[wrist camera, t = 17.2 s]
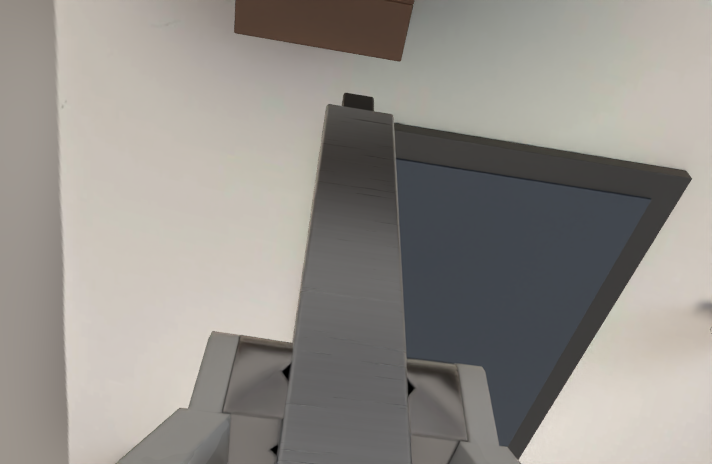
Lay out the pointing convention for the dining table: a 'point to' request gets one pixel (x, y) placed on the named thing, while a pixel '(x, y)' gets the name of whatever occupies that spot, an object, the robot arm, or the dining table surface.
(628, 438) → the dining table surface
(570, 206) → the drawing tablet
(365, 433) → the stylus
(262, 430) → the robot arm
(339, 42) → the brown block with hole
